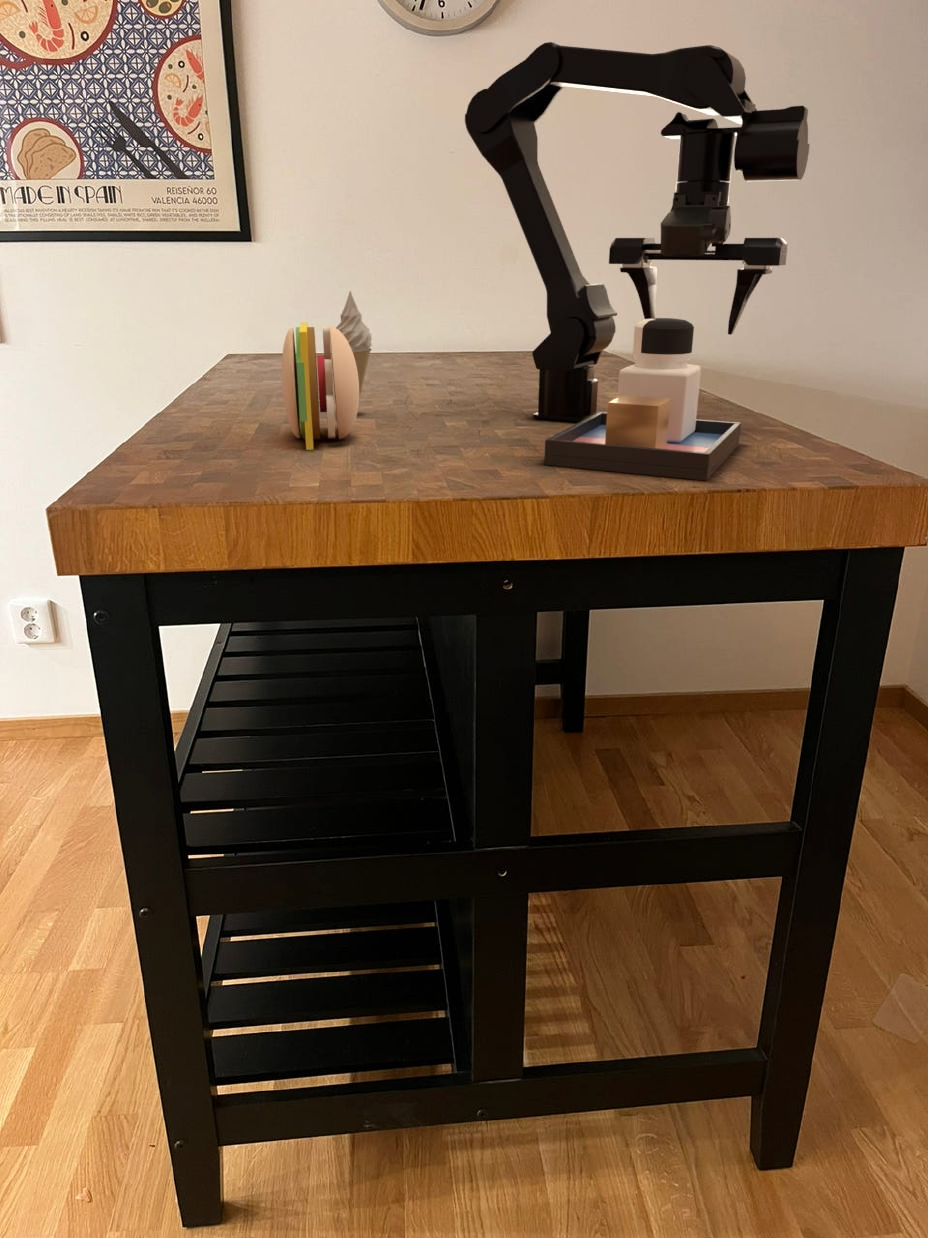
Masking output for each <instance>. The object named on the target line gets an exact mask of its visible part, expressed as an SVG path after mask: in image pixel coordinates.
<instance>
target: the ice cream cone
mask: <svg viewBox="0 0 928 1238" xmlns="http://www.w3.org/2000/svg"><path fill="white" fill-rule="evenodd" d="M339 316H340V323H338V325H337V326H336V327H335V328H336V329H338V330H339V331H340V332H341V333H342V334H343V335H344V336H345V338H346V339H347V341H348V343H349V345H350V347H351V349H352V352H353V355H354V358H355V362H356V366H357V371H358V379H359V400H360V399H361V394H362V390H363V385H364V382H365V381H364V380H365V376H366V372H367V368H368V364H369V359H370V355H371V351H372V348H371V347H372V339H373V337H372V333H371V332H370V328H369V327H368V326H367V325H366V324H365V323H364V322H363V314H362V313H361V312H360V310H359V308H358V306H357V304H356V301H355V299H354V297H353V294H352V290H349V292H348V295H347V299H346V302H345V304H344V308H343V310H342V312H341V313H340V315H339Z"/></svg>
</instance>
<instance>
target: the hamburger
mask: <svg viewBox="0 0 928 1238" xmlns="http://www.w3.org/2000/svg"><path fill="white" fill-rule="evenodd" d="M299 325H300V326H295V332H294V327H291V328H289V329H288V331H287V332H286V335H285V338H284V343H283V349H282V355H281V385H282V394H283V395H282V396H283V402H284V403H283V404H284V408H285V413H286V418H287V421H288V424H289V427H290V430H291V432H292V433H293V435H294V436H295V438H297V439H301V437H302V440H305V450H306V451H313V450H314V440H321V424H320V413H326V420H327V421H326V422H327V438H328V440H336V426H337V435H338V440H341V439H344V438H346V437H347V436H348V435H349V434H350V433H351V431H352V430H353V427H354V425H355V423H356V420H357V417H358V412H359V405H360V404H359V403H360V399H359V379H358V371H357V366H356V362H355V358H354V355H353V352H352V349H351V347H350V345H349V343H348V341H347V339H346V338H345V336H344V335H343V334H342V333H341V332H340V331H339V330H338V329H336V327H334V326H328V325H325V326H324V325H323V326H322V342H323V343H322V344H323V345H322V346H323V354H321V355H320V354H318V355H317V348H316V331H315V327H314V326H309V323H308V322H300V324H299ZM335 413H336V414H335ZM335 415H336V420H335ZM335 421H336V422H335ZM336 424H337V425H336Z"/></svg>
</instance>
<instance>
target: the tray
mask: <svg viewBox="0 0 928 1238" xmlns="http://www.w3.org/2000/svg"><path fill="white" fill-rule="evenodd" d="M606 421H607V412H603V411H597V412H596V414H594V415H592V416H590V417H589V418H587V419H585V420H583V421H578V422H577V423H574V424H573V425H571V426H569V427H567V428H565V429H564V430H561V431H559V432H558V433H556V434H554V435H551V436H550V437H548V438H546V439H545V440H544V441H545V442H544V463H543V464H544V465H545V466H554V467H565V468H576V469H583V470H593V471H603V472H615V473H625V474H634V475H645V476H653V477H654V476H655V477H664V478H665V477H666V478H674V479H675V478H676V479H685V480H694V481H708V480H709V479H710V477H711V476H713V474H714V473H715V472H716V471H717V470H718V469H719V468H720V467H721V466H722V464H723V463H724V462H725V461H726V460H727V459H728V458H729V457H730V456H731V455H732V453H734V451H735V450H736V449H737V448H738V447H739V445H740V437H741V436H740V435H741V428H742V422H739V421H738V422H736V421H722V420H710V419H697V418H696V426H695V431H694V432H693V433H692V434H690V435H689V436H688V437H686V438H685V439H684V440H683V441H681V442H680V443H674V442H667V447H666V449H658V448H647V447H636V446H624V445H613V444H605V438H606Z"/></svg>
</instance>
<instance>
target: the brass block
mask: <svg viewBox="0 0 928 1238" xmlns="http://www.w3.org/2000/svg"><path fill="white" fill-rule="evenodd" d="M670 400H671V399H669V398H654V397H639V396H624V395H622V396H620V397H618V396H617V397H616V398H614V399H612V400H610V401H608V402H607V407H606V413H607V421H606V438H605V444H613V445H624V446H636V447H647V448H658V449H666V447H667V435H668V423H669V411H670Z"/></svg>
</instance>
